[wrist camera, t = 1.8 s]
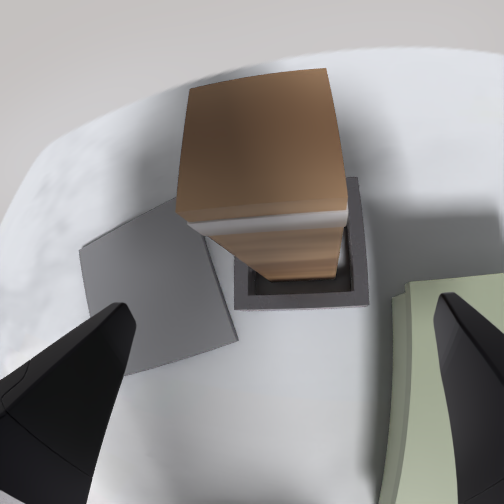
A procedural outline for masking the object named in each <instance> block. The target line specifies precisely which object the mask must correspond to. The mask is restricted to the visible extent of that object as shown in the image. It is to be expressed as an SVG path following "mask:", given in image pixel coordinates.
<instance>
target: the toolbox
mask: <svg viewBox="0 0 504 504" xmlns="http://www.w3.org/2000/svg"><path fill="white" fill-rule="evenodd" d="M445 292H455V293H456V294H458V295H459V296H460V297H461V298H463V299H464V300H465V301H466V302H467V303H469V304H470V305H471V306H472V307H474V308H475V309H476V310H477V311H478V312H479V313H481V314H482V315H483V316H484V317H485V318H487V319H488V320H489V321H490V322H491V323H492V324H494V325H495V326H496V327H497V328H498V329H499V330H500V331H502V332H503V333H504V273H498V274H489V275H479V276H469V277H458V278H448V279H436V280H424V281H411V282H408V283H406V284H405V293H403V294H400V295H398V296H395V297H393V298H392V320H393V370H392V395H391V411H390V423H389V434H388V443H387V452H386V459H385V467H384V473H383V480H382V486H381V492H380V497H379V502H378V504H458V495H457V479H456V467H455V457H454V448H453V441H452V433H451V427H450V420H449V414H448V409H447V403H446V398H445V393H444V388H443V383H442V379H441V373H440V367H439V359H438V351H437V344H436V337H435V331H434V324H433V317H434V313H435V309H436V305H437V301H438V297H439V295H440V294H441V293H445Z"/></svg>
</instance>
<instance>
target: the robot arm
mask: <svg viewBox="0 0 504 504" xmlns="http://www.w3.org/2000/svg"><path fill="white" fill-rule="evenodd" d="M433 324H434V331H435V337H436V344H437V351H438V359H439V367H440V373H441V379H442V383H443V388H444V393H445V398H446V403H447V409H448V414H449V420H450V427H451V433H452V441H453V448H454V457H455V467H456V479H457V495H458V504H504V333H503V332H502V331H500V330H499V329H498V328H497V327H496V326H495V325H494V324H492V323H491V322H490V321H489V320H488V319H487V318H485V317H484V316H483V315H482V314H481V313H479V312H478V311H477V310H476V309H475V308H474V307H472V306H471V305H470V304H469V303H467V302H466V301H465V300H464V299H463V298H461V297H460V296H459V295H458V294H456V293H455V292H445V293H441V294H440V295H439V297H438V301H437V305H436V309H435V313H434V317H433ZM135 332H136V321H135V319H134V317H133V315H132V313H131V311H130V309H129V307H128V305H127V304H126V303H124V302H113V303H111V304H110V305H108V306H107V307H106V308H104V309H103V310H101V311H100V312H98V313H97V314H95V315H94V316H92V317H91V318H89V319H88V320H86V321H85V322H83V323H82V324H80V325H79V326H78V327H76V328H75V329H73V330H72V331H70V332H69V333H67V334H66V335H64V336H63V337H62V338H60V339H59V340H57V341H56V342H54V343H53V344H52V345H50V346H49V347H47V348H46V349H44V350H43V351H42V352H40V353H39V354H37V355H36V356H35V357H33V358H32V359H31V360H29V361H28V362H26V363H25V364H23V365H22V366H21V367H19V368H18V369H16V370H15V371H13V372H12V373H10V374H9V375H7V376H6V377H4V378H3V379H1V380H0V504H86V503H87V499H88V494H89V490H90V486H91V482H92V479H93V478H92V477H93V474H94V470H95V467H96V463H97V459H98V456H99V452H100V449H101V445H102V442H103V439H104V435H105V432H106V429H107V425H108V422H109V419H110V416H111V413H112V409H113V406H114V403H115V400H116V397H117V394H118V391H119V388H120V385H121V382H122V380H123V377H124V374H125V370H126V367H127V363H128V359H129V355H130V351H131V347H132V343H133V339H134V336H135Z"/></svg>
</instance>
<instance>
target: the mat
mask: <svg viewBox="0 0 504 504" xmlns="http://www.w3.org/2000/svg"><path fill="white" fill-rule="evenodd" d="M176 198H177V197H175V198H173V199H171V200H169V201H167V202H166V203H164V204H162V205H160V206H158V207H156V208H154V209H152V210H150V211H148V212H146V213H144V214H143V215H141V216H139V217H137V218H135V219H133V220H131V221H129V222H128V223H126V224H124V225H122V226H120V227H119V228H117V229H115V230H113V231H111V232H110V233H108V234H106V235H104V236H103V237H101V238H99V239H97V240H96V241H94V242H92V243H90V244H89V245H87V246H85V247H84V248H82V249H80V250H79V256H80V263H81V270H82V276H83V282H84V288H85V293H86V298H87V303H88V308H89V313H90V318H91V317H92V316H94V315H95V314H97V313H98V312H100V311H101V310H103V309H104V308H106V307H107V306H108V305H110V304H111V303H113V302H124V303H126V304H127V305H128V307H129V309H130V311H131V313H132V315H133V317H134V319H135V321H136V332H135V336H134V339H133V343H132V347H131V351H130V355H129V359H128V363H127V367H126V370H125V374H124V376H126V375H130V374H134V373H137V372H141V371H145V370H148V369H152V368H155V367H158V366H162V365H165V364H168V363H172V362H175V361H178V360H182V359H185V358H188V357H191V356H194V355H197V354H201V353H204V352H207V351H210V350H213V349H216V348H219V347H222V346H225V345H227V344H230V343H233V342H236V341H239V340H238V337H237V334H236V332H235V329H234V326H233V323H232V320H231V317H230V314H229V312H228V309H227V306H226V303H225V300H224V297H223V294H222V291H221V288H220V285H219V282H218V279H217V276H216V273H215V270H214V267H213V264H212V261H211V258H210V255H209V252H208V249H207V246H206V242H205V239H204V236H203V235H201V234H200V233H199V232H197V231H196V230H194V229H193V228H192V227H190V226H189V225H187V221H186V220H185V219H184V218H182V217H181V216H180V215H178V214H177V213H176V212H175V210H176Z"/></svg>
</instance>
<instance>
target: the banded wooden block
mask: <svg viewBox="0 0 504 504" xmlns="http://www.w3.org/2000/svg"><path fill="white" fill-rule="evenodd" d="M347 201H348V193H347V185H346V177H345V170H344V163H343V156H342V150H341V143H340V137H339V131H338V125H337V120H336V114H335V109H334V103H333V98H332V93H331V89H330V84H329V79H328V74H327V70H326V68H320V69H308V70H297V71H288V72H279V73H272V74H264V75H258V76H251V77H245V78H239V79H234V80H229V81H223V82H218V83H214V84H209V85H204V86H200V87H196V88H191V89H190V91H189V97H188V104H187V111H186V118H185V125H184V133H183V141H182V149H181V158H180V167H179V177H178V187H177V198H176V210H175V212H176V213H177V214H178V215H180V216H181V217H182V218H184V219H185V220H186V221H187V225H189V226H190V227H192V228H193V229H194V230H196V231H197V232H199V233H200V234H201V235H203V236H208V237H210V238H211V239H212V240H214V241H215V242H216V243H218V244H219V245H221V246H222V247H223V248H225V249H226V250H227V251H229V252H230V253H232V254H233V255H234V256H236V257H237V258H238V259H240V260H241V261H243V262H244V263H245V264H247V265H248V266H249V267H251V268H252V269H254V270H255V271H256V272H258V273H259V274H261V275H262V276H263V277H265V278H266V279H268V280H269V281H270V282H286V281H309V280H329V279H335V276H336V271H337V265H338V259H339V253H340V248H341V241H342V235H343V229H344V227H346V224H347V218H348V203H347Z"/></svg>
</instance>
